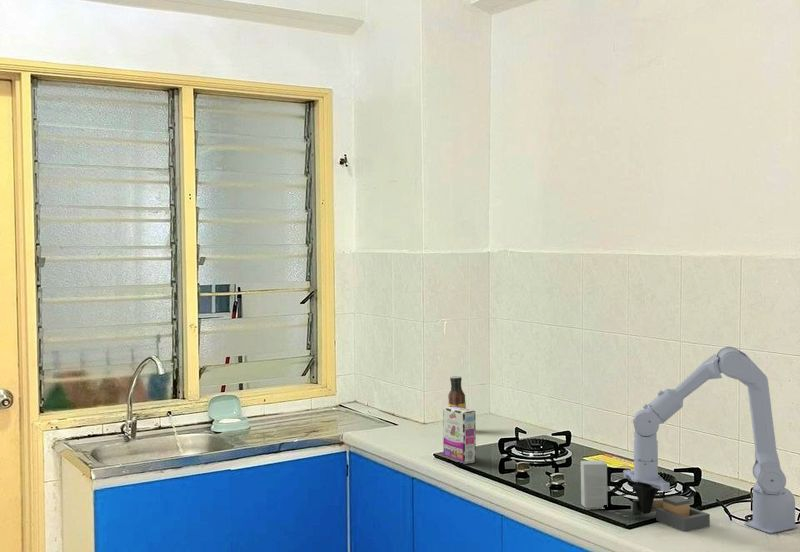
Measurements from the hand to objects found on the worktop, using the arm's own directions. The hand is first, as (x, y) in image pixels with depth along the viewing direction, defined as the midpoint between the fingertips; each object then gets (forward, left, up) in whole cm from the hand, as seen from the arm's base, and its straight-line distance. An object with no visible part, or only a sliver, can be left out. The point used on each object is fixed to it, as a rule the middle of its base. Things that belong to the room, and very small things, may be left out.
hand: (646, 513), depth 222 cm
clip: (-5, -1, -1) cm, 5 cm away
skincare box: (+5, -14, -2) cm, 15 cm away
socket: (-7, +6, -2) cm, 9 cm away
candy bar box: (+11, -73, -2) cm, 74 cm away
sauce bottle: (-9, -109, -2) cm, 109 cm away
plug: (-6, +4, -2) cm, 7 cm away
